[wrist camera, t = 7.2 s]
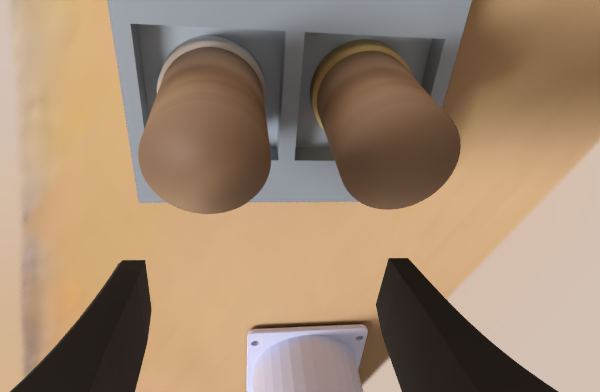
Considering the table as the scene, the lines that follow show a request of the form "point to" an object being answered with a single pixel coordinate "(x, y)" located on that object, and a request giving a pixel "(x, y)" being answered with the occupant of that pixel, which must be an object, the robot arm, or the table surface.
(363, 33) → the grey divided tray
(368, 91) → the sleeve
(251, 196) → the sleeve seated
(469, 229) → the table surface
